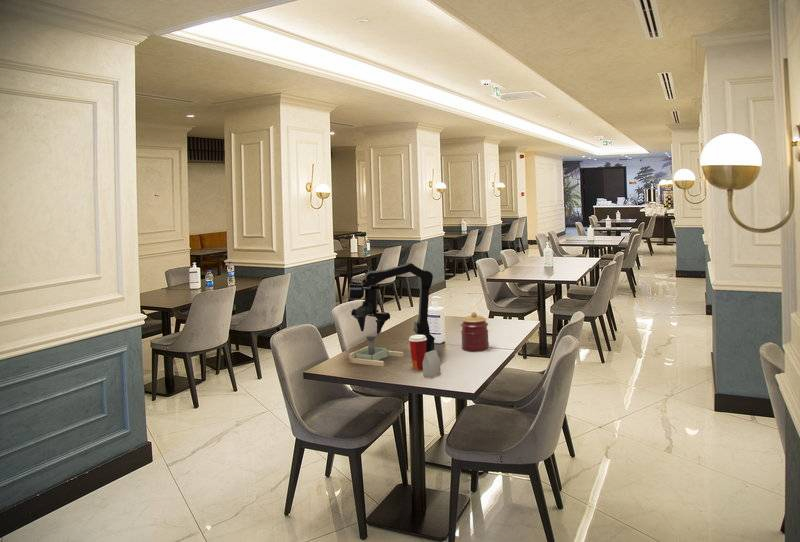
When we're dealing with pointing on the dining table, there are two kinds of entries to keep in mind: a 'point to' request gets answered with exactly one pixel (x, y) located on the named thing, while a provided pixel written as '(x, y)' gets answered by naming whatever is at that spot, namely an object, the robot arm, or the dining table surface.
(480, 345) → the canister
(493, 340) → the dining table surface
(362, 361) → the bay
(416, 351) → the paper cup
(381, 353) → the green base with post
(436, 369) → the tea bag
